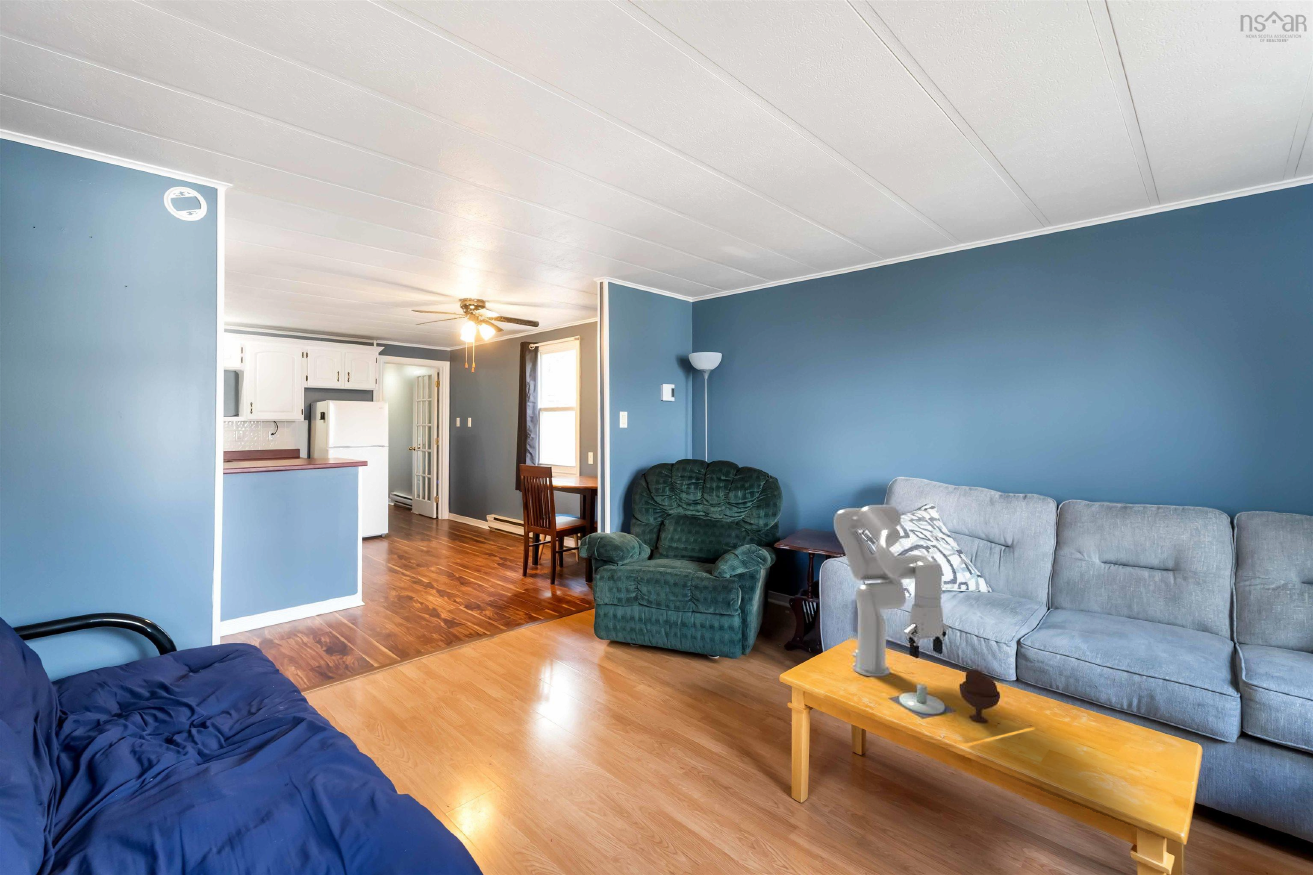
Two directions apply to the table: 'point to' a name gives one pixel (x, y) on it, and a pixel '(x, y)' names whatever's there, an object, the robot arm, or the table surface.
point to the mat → (946, 710)
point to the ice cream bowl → (979, 693)
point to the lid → (922, 702)
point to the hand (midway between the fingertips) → (925, 654)
